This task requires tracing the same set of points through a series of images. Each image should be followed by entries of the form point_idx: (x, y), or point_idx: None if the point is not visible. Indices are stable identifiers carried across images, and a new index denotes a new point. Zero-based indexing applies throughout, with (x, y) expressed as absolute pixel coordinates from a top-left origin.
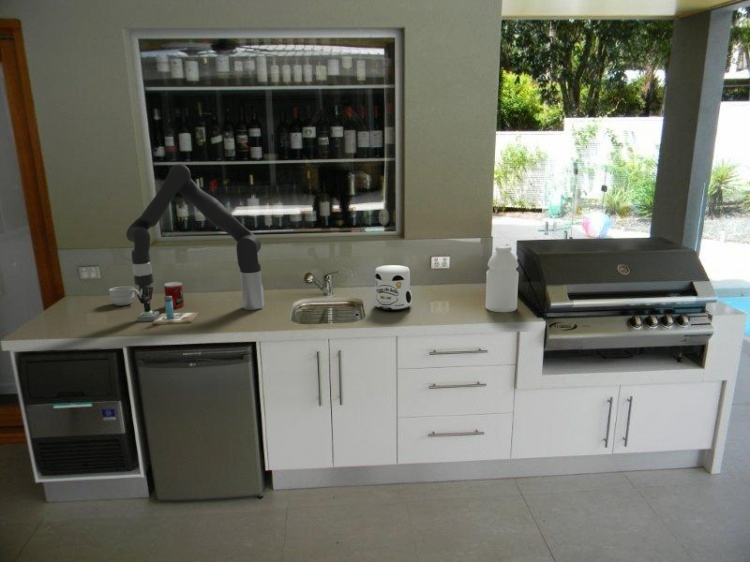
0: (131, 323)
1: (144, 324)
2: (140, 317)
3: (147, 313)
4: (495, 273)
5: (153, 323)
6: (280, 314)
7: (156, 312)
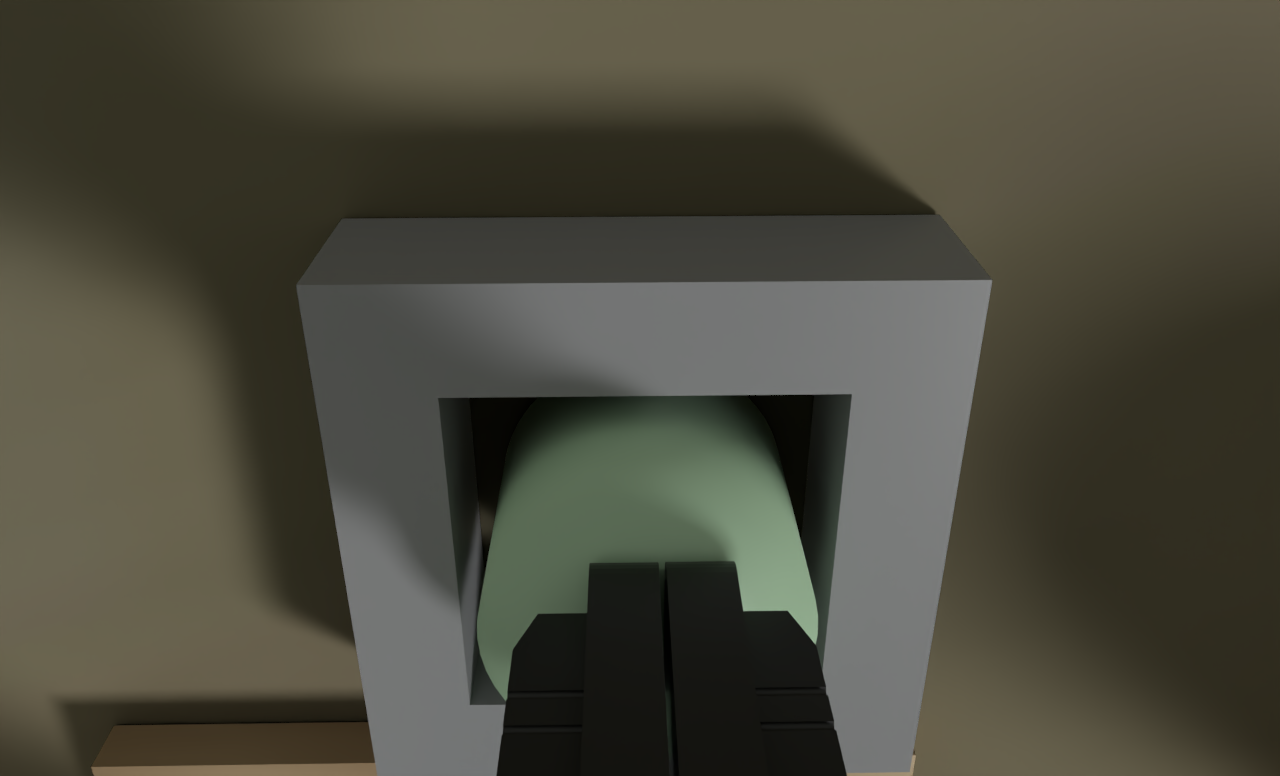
0: (87, 65)
1: (59, 528)
2: (322, 390)
3: (488, 638)
4: None
5: (111, 750)
6: None
7: None
